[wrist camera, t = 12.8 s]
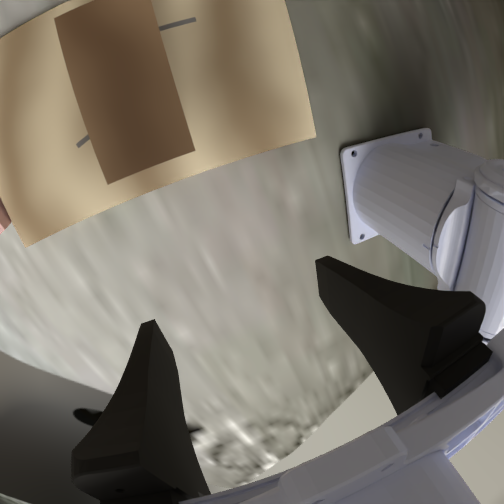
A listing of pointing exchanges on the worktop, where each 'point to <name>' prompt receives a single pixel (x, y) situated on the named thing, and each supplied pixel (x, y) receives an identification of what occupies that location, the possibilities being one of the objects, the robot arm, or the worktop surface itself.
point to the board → (191, 97)
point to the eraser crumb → (3, 217)
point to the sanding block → (123, 85)
